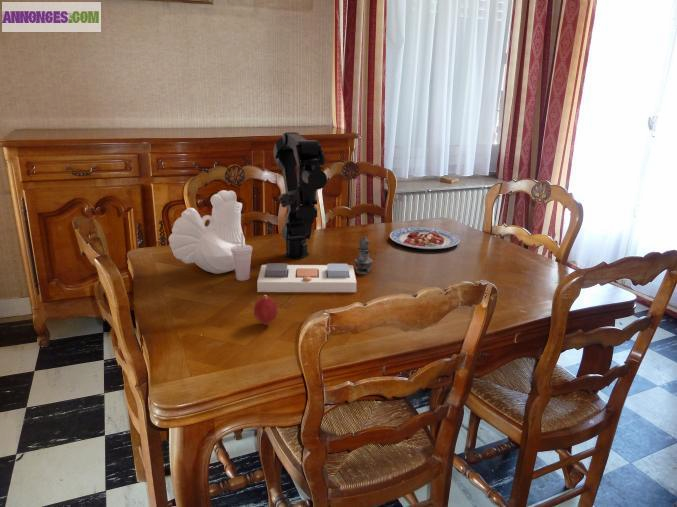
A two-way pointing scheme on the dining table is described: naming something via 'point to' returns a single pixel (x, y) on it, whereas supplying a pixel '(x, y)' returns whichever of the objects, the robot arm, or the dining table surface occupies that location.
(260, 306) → the onion
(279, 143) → the robot arm
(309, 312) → the dining table surface
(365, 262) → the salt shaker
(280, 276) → the charcoal key
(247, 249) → the smoothie
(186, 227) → the decorative rooster
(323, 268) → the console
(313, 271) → the terracotta key
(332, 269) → the blue key
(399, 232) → the ceramic plate
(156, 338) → the dining table surface
